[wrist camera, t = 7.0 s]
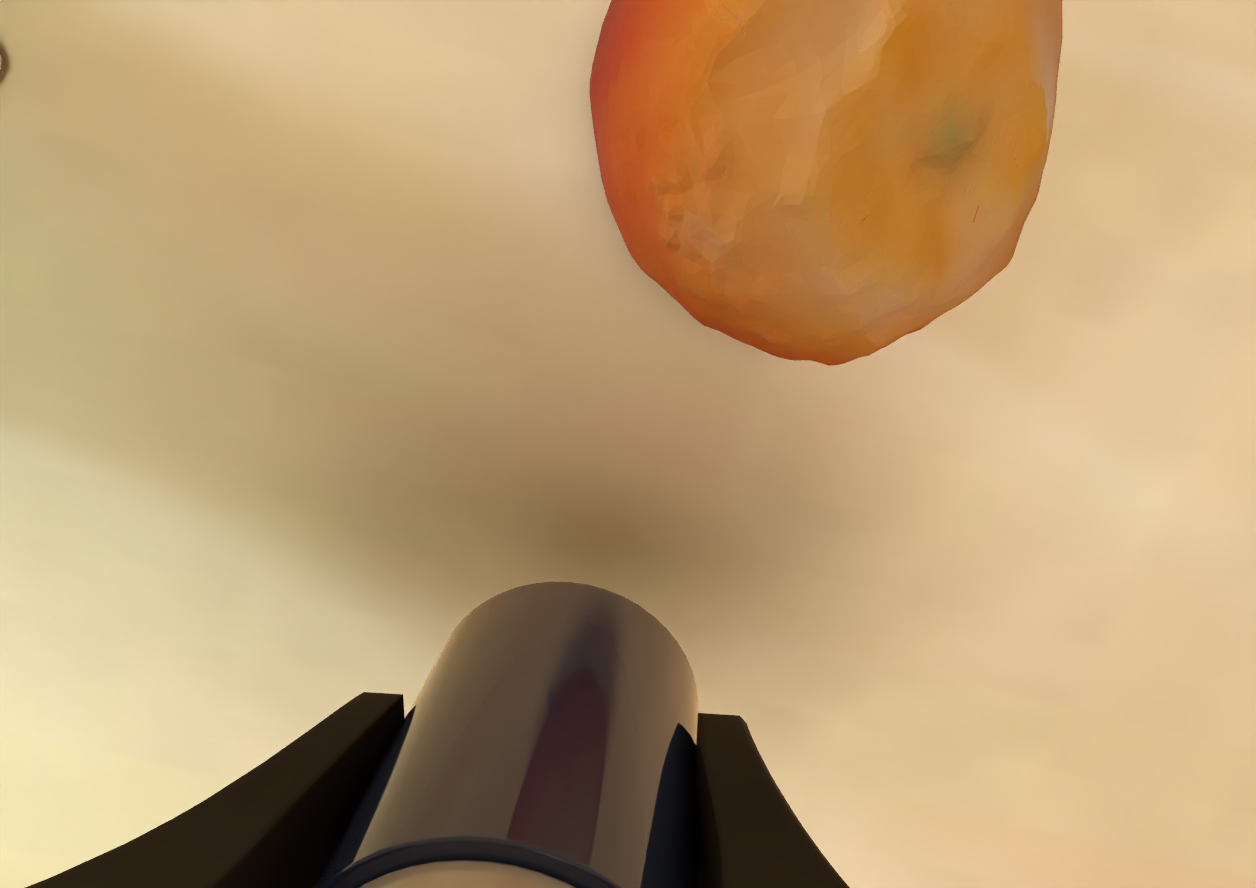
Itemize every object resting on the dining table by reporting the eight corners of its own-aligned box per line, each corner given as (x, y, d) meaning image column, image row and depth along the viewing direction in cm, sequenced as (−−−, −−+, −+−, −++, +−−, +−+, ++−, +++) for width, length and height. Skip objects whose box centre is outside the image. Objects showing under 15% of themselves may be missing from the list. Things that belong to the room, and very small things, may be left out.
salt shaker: (557, 856, 16) (465, 1304, 9) (380, 683, 15) (154, 1044, 9) (753, 720, 15) (796, 1121, 8) (573, 527, 14) (473, 809, 8)
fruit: (590, -222, 16) (883, -361, 9) (896, -31, 20) (1247, -37, 13) (460, 218, 18) (622, 350, 12) (758, 308, 22) (999, 442, 16)
